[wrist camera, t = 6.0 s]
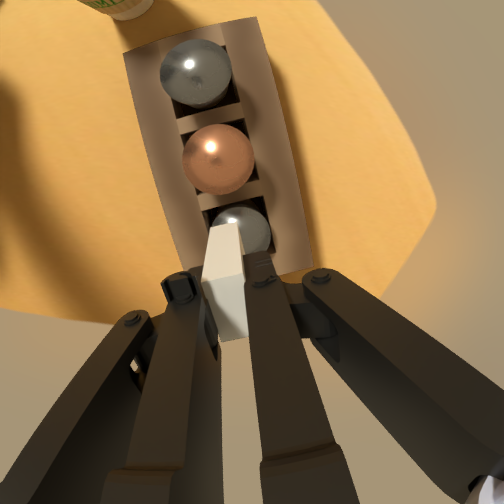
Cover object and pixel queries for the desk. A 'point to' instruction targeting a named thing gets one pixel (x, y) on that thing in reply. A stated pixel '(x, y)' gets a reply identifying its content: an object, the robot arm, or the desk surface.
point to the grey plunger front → (196, 73)
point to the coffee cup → (120, 7)
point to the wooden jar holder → (245, 110)
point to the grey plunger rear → (246, 224)
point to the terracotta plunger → (218, 159)
